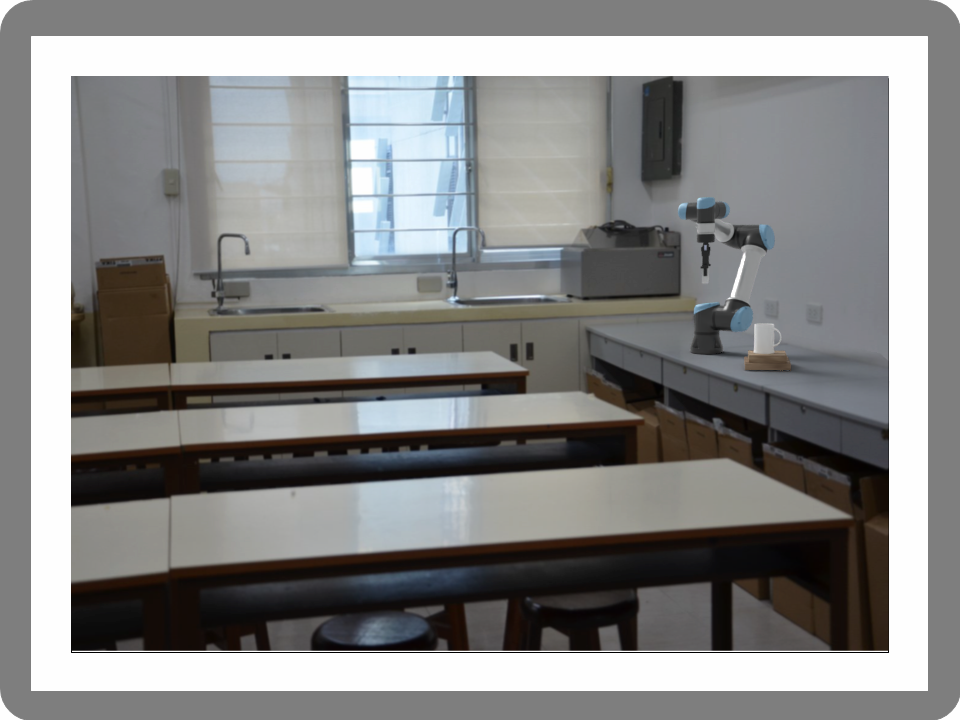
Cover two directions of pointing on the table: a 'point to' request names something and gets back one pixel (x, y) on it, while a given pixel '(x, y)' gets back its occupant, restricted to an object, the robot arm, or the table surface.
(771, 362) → the pedestal
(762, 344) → the mug
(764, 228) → the robot arm
